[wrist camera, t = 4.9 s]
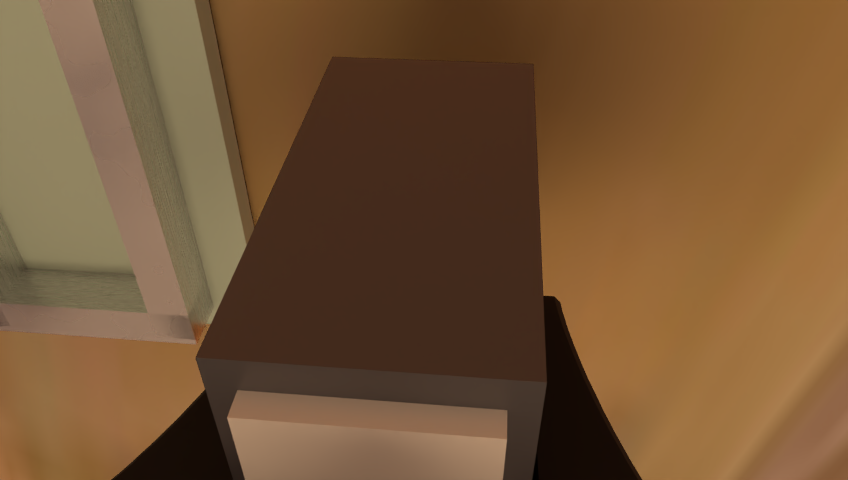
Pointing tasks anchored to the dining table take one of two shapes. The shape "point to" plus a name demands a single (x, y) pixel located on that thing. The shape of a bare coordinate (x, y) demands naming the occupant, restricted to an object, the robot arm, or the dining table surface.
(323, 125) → the brown block
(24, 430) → the dining table surface
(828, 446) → the dining table surface
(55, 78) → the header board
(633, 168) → the dining table surface
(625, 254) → the dining table surface
